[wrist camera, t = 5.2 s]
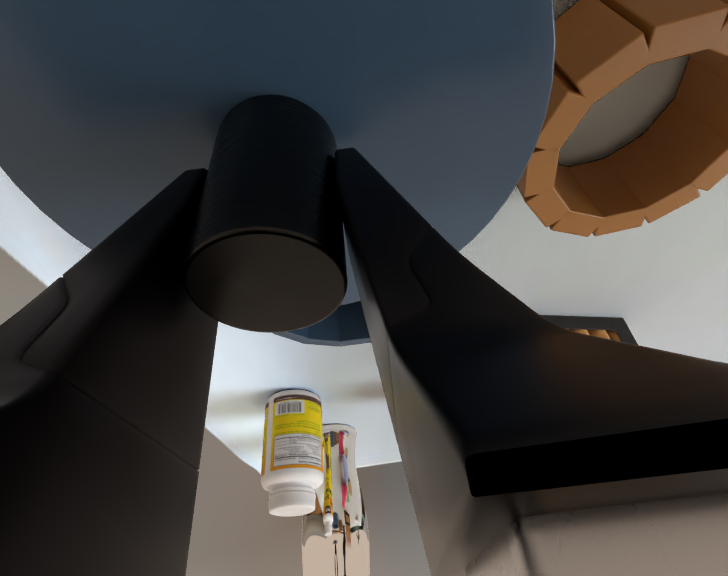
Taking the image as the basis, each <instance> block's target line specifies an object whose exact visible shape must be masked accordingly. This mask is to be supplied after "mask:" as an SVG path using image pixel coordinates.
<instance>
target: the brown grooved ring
mask: <svg viewBox="0 0 728 576" xmlns="http://www.w3.org/2000/svg"><path fill="white" fill-rule="evenodd" d="M555 32H556V47H555V61H554V75H553V84H552V89H551V93H550V98H549V103H548V108H547V113H546V117H545V120H544V123H543V126H542V129H541V132H540V135H539V138H538V141H537V144H536V147H535V150H534V152H533V154H532V156H531V158H530V160H529V162H528V164H527V166H526V169H525V171H524V173H523V175H522V177H521V178H520V180H519V182H518V183H517V185H516V186H517V187H518V189H519V191H520V193H521V195H522V197H523V199H524V201H525V203H526V204H527V205H528V206H529V207H530V209H531V210H532V211H533V212H534V213H535V215H536V216H537V217H538V218H539V220H540V221H541V222H542V223H543V224H544V226H545V227H548V226H549V227H550V229H551V230H554V231H559V232H565V233H570V234H575V235H581V236H586V237H588V236H589V235H590V234H591V233H593V235H594V236H599V235H603V234H608V233H612V232H617V231H622V230H626V229H631V228H635V227H640V226H641V225H642V223H643V221H644V218H645V219H646V221H647V222H648V223H651V222H653V221H655V220H656V219H658V218H660V217H662V216H664V215H666V214H668V213H670V212H672V211H674V210H675V209H677V208H679V207H681V206H683V205H685V204H687V203H689V202H691V201H692V200H694V199H696V198H698V197H700V194H699V191H698V189H702V190H706V191H708V190H710V189H711V188H712V187H713V186H714V185H715V184H716V183H718V182H719V181H720V180H721V179H722V178H723V177H724V176H725V175H726V174H728V0H579V1H578V2H577V3H575V4H574V5H573V6H572V7H571V8H569V9H568V10H567V11H566V12H565V13H564V14H562V15H561V16H560V17H559V18H558V19H556V20H555ZM687 54H689V56H690V58H689V61H688V64H687V66H686V69H685V72H684V74H683V77H682V80H681V83H680V85H679V88H678V91H677V94H676V96H675V99H674V100H673V101H672V102H671V103H670V104H669V106H668V107H667V108H666V109H665V110H664V111H663V112H662V114H661V115H660V116H659V117H658V118H657V119H656V121H655V122H654V123H653V124H652V125H651V126H650V127H649V129H648V130H647V131H646V132H645V133H644V134H643V135H642V136H640V137H638V138H637V139H635V140H634V141H632V142H631V143H629V144H627V145H626V146H624V147H623V148H621V149H619V150H618V151H616V152H615V153H613V154H612V155H610V156H608V157H607V158H605V159H601V160H597V161H593V162H589V163H585V164H580V165H576V166H572V167H566V166H561V165H558V158H559V152H560V148H561V147H562V145H563V144H564V143H565V141H566V140H567V139H568V137H569V136H570V134H571V133H572V132H573V130H574V129H575V128H576V126H577V125H578V123H579V122H580V121H581V119H582V118H583V116H584V115H585V114H586V112H587V111H588V110H589V108H590V107H591V105H592V104H593V103H595V102H596V101H597V100H599V99H600V98H602V97H603V96H605V95H606V94H607V93H609V92H610V91H612V90H613V89H614V88H616V87H617V86H619V85H620V84H622V83H623V82H624V81H626V80H627V79H629V78H630V77H631V76H633V75H634V74H636V73H637V72H639V71H640V70H641V69H643V68H644V67H646V66H647V65H650V64H653V63H657V62H661V61H665V60H668V59H672V58H676V57H680V56H684V55H687Z"/></svg>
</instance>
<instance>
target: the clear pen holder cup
mask: <svg viewBox="0 0 728 576" xmlns="http://www.w3.org/2000/svg"><path fill="white" fill-rule="evenodd" d="M356 438H357V432H356V430H355V429H354V428H353V427H351V426H348V425H342V424H329V425H323V426H322V440H323V472H324V479H323V482H322V484H321V485H320V486H319V487H318V488H316V489H314V490H315V495H316V499H315V510H314V511H313V512H311V513H308V514H305V515H303V523H302V561H303V575H304V576H370V557H369V556H370V554H369V533H368V523H367V516H366V511H365V506H364V502H363V497H362V493H361V488H360V484H359V480H358V476H357V471H356V464H355V448H356Z"/></svg>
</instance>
